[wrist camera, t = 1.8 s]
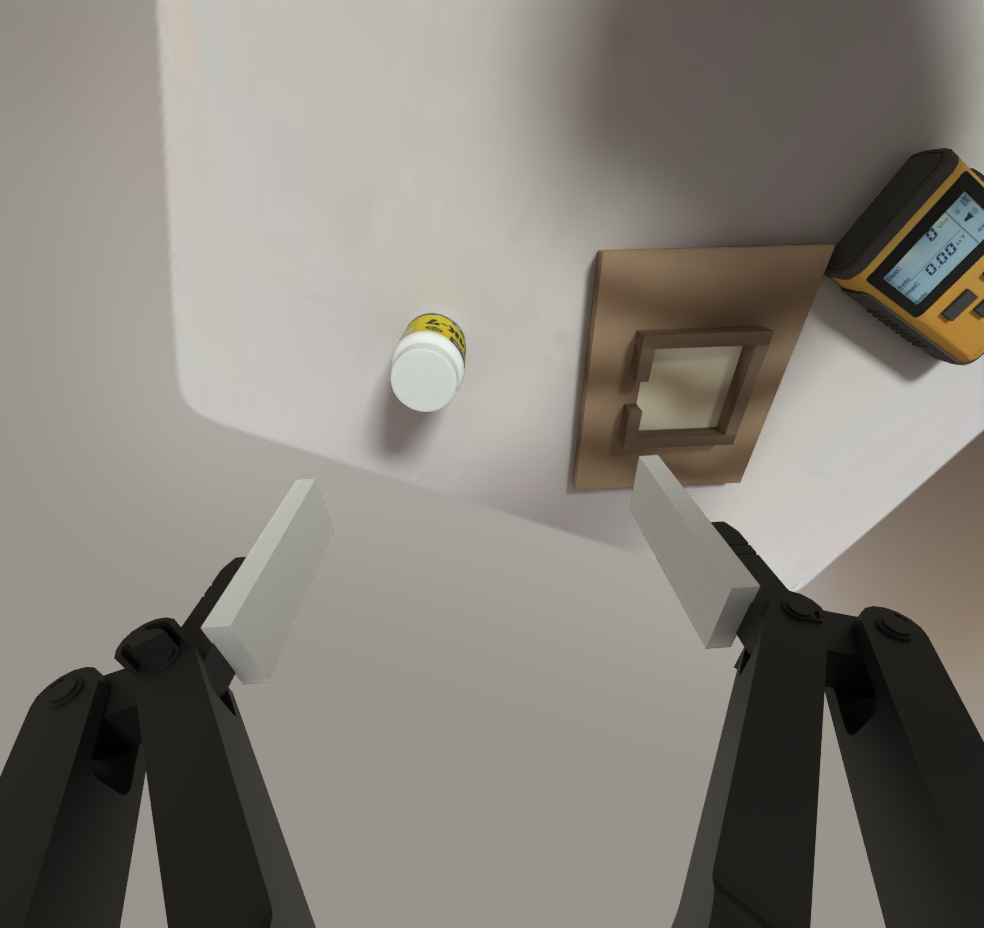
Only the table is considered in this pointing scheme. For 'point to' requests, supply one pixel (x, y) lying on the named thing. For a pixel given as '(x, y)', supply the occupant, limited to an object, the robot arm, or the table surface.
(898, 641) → the robot arm
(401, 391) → the supplement bottle
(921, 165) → the electronic device
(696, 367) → the board
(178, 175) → the table surface
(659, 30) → the table surface
